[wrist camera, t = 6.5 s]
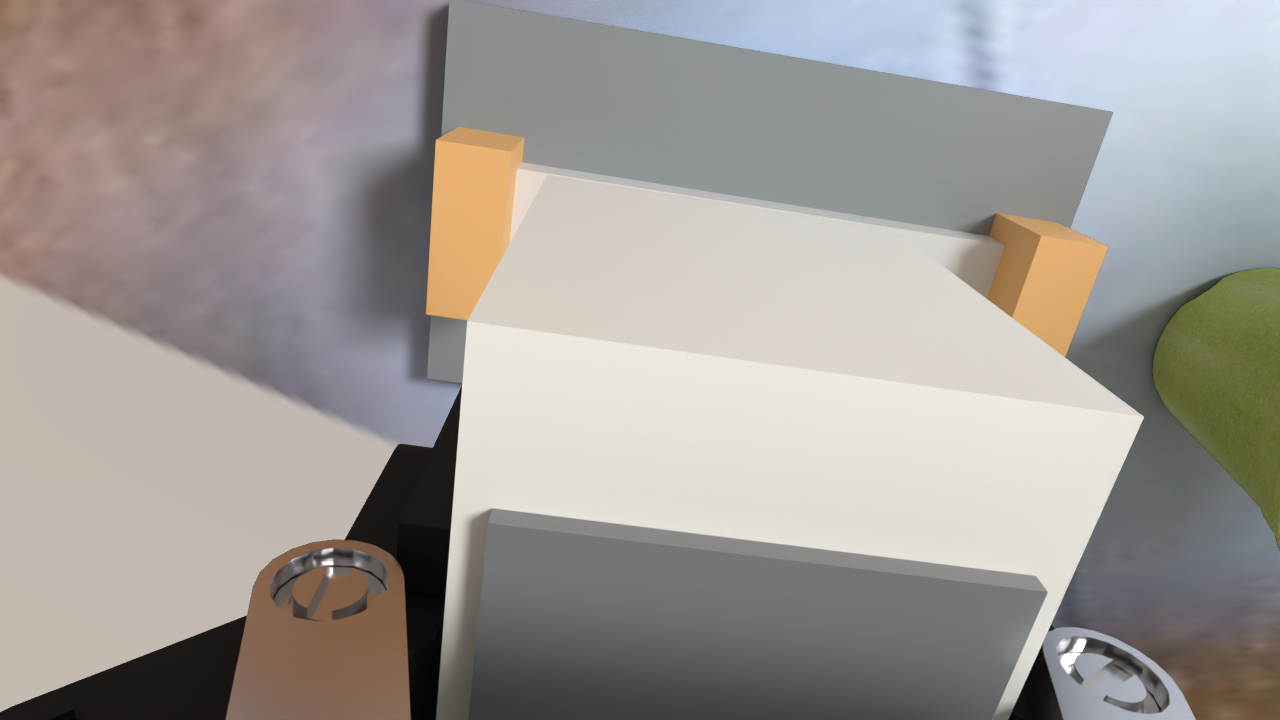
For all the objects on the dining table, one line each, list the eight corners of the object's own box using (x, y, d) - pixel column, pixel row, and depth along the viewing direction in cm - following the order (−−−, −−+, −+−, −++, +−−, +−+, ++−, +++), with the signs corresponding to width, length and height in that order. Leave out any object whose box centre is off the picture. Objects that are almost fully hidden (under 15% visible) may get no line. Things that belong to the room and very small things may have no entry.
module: (892, 228, 11) (1160, 429, 6) (771, 656, 14) (866, 1067, 9) (547, 174, 11) (461, 331, 5) (497, 624, 14) (408, 1033, 8)
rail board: (1095, 108, 25) (1176, 122, 21) (974, 442, 29) (1023, 501, 26) (456, -1, 23) (423, -6, 20) (433, 367, 28) (403, 418, 24)
